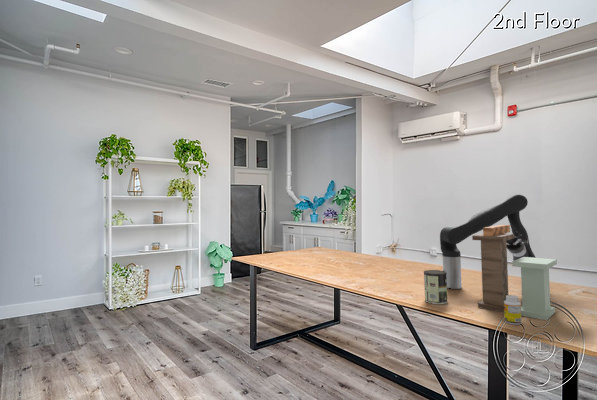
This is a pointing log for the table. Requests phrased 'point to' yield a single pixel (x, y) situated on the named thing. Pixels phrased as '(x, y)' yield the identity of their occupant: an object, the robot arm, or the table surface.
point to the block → (496, 230)
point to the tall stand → (494, 270)
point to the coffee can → (435, 286)
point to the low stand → (535, 286)
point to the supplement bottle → (512, 310)
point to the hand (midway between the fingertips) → (506, 232)
